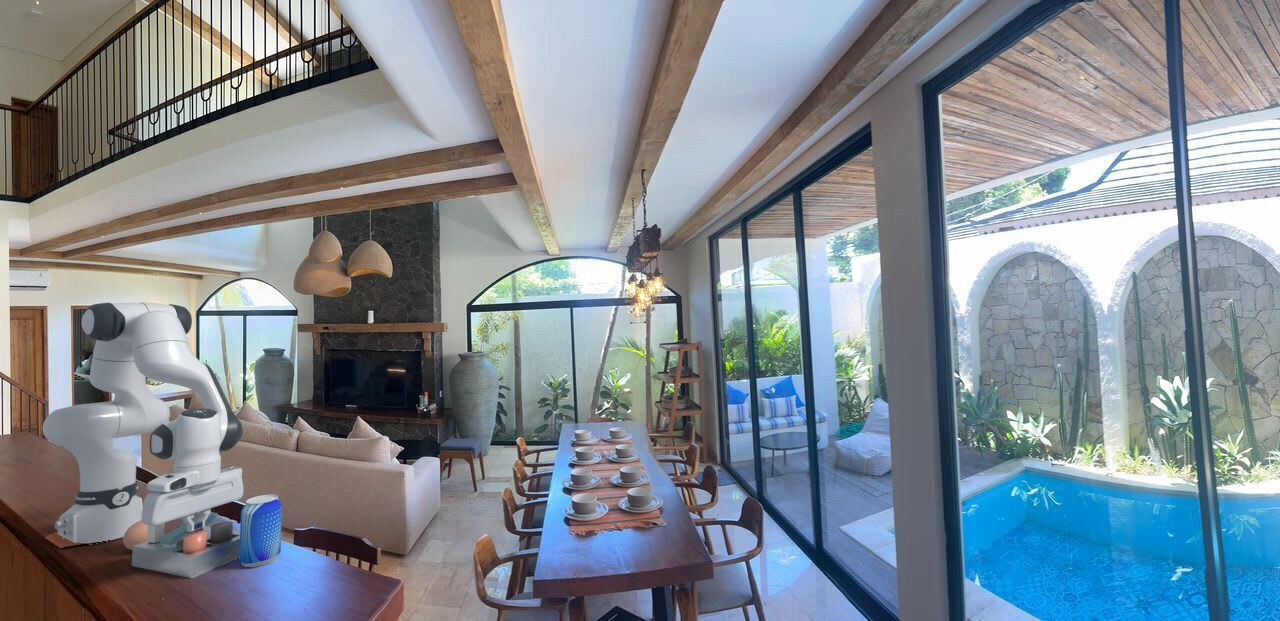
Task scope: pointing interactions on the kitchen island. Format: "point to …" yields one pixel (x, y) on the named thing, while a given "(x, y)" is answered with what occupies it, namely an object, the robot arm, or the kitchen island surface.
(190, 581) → the kitchen island surface
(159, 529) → the slider knob
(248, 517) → the beer can
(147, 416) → the robot arm
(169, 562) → the switch box
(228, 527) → the black button
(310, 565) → the kitchen island surface
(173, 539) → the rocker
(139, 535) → the toy ball
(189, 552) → the pink rounded cylinder
